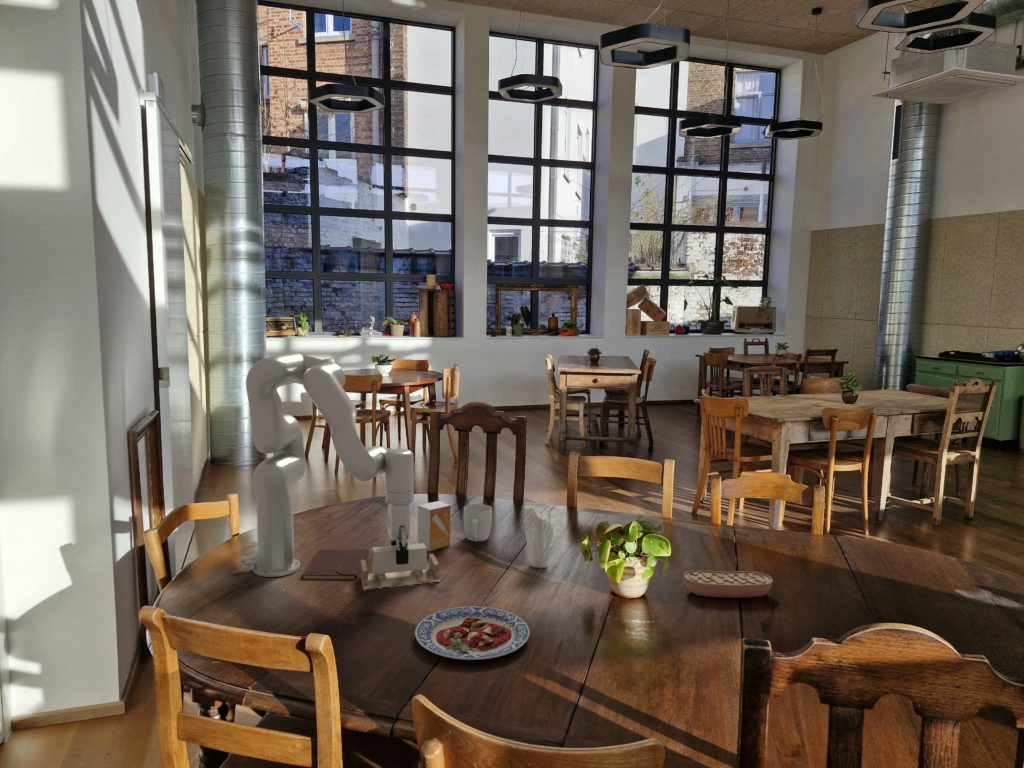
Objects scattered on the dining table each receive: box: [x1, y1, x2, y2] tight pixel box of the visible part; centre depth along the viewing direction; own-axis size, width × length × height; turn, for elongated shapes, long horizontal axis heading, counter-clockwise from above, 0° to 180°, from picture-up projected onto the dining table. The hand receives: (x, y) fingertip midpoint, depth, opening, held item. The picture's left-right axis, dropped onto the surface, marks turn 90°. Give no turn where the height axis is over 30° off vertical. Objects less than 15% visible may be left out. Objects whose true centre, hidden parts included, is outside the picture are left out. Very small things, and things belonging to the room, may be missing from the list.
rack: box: [359, 553, 440, 591], centre depth 201 cm, size 20×9×5 cm, turn 107°
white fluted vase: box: [523, 505, 554, 569], centre depth 213 cm, size 8×8×18 cm
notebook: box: [300, 548, 370, 580], centre depth 211 cm, size 15×20×2 cm
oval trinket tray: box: [683, 569, 773, 599], centre depth 195 cm, size 23×10×5 cm, turn 90°
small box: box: [417, 500, 452, 552], centre depth 227 cm, size 8×6×13 cm
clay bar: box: [372, 543, 428, 574], centre depth 201 cm, size 14×4×6 cm, turn 107°
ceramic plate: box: [414, 605, 530, 661], centre depth 168 cm, size 26×26×3 cm
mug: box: [462, 503, 493, 543], centre depth 233 cm, size 13×9×10 cm
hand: (399, 557), depth 201 cm, fingers open, 9 cm apart
